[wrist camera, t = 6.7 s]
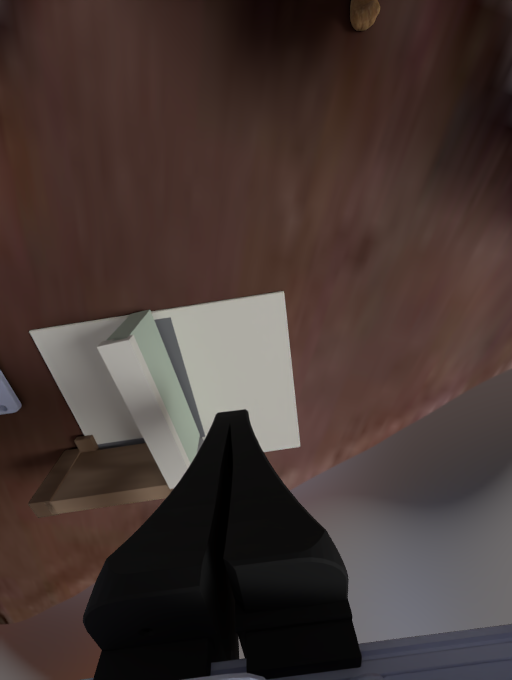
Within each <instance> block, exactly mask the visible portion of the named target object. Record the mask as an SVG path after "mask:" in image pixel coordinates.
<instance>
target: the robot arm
mask: <svg viewBox="0 0 512 680" xmlns="http://www.w3.org/2000/svg"><path fill="white" fill-rule="evenodd" d="M5 406H6V407H5ZM21 406H22V405H21V402H20V401H19V399H18V398H17V396H16V394H15V393H14V391H13V389H12V388H11V386H10V385H9V383H8V381H7V380H6V378H5V377H4V375H3V373H2V372H1V370H0V415H1V414H8V413H15V412H17V411H18V410H19V409H20V408H21ZM347 595H348V574H347V570H346V568H345V565H344V563H343V560H342V558H341V556H340V554H339V552H338V550H337V548H336V546H335V545H334V543H333V541H332V539H331V538H330V537H329V534H328V532H327V531H326V530H325V529H324V528H323V527H322V526H321V525H320V524H319V523H318V522H317V521H316V520H315V519H314V518H313V517H312V516H311V515H310V514H309V513H308V512H307V510H306V509H305V508H304V507H303V506H302V505H301V504H300V503H299V502H298V501H297V499H296V498H295V497H294V496H293V494H292V493H291V492H290V491H289V489H288V488H287V487H286V486H285V485H284V483H283V482H282V480H281V479H280V478H279V476H278V475H277V473H276V472H275V470H274V469H273V467H272V466H271V464H270V463H269V461H268V459H267V458H266V456H265V454H264V452H263V450H262V448H261V447H260V445H259V442H258V440H257V438H256V436H255V434H254V431H253V429H252V426H251V423H250V419H249V413H248V411H247V410H246V409H243V410H235V411H227V412H219V413H217V414H216V415H215V418H214V421H213V423H212V425H211V427H210V430H209V432H208V434H207V436H206V438H205V440H204V442H203V444H202V445H201V447H200V449H199V451H198V453H197V454H196V456H195V458H194V459H193V461H192V463H191V464H190V466H189V468H188V469H187V471H186V472H185V474H184V475H183V477H182V478H181V479H180V481H179V482H178V484H177V485H176V486H175V488H174V489H173V490H172V491H171V493H170V494H169V495H168V497H167V498H166V499H165V500H164V502H163V503H162V504H161V505H160V506H159V507H158V509H157V510H156V511H155V512H154V513H153V514H152V515H151V516H150V517H149V518H148V519H147V521H146V522H145V523H144V524H143V525H142V526H141V527H140V528H139V529H138V530H137V531H136V532H135V533H134V534H133V535H132V536H131V537H130V538H129V539H128V540H127V541H126V542H125V543H123V544H122V545H121V546H120V547H119V548H118V549H117V550H116V551H115V552H114V553H113V554H111V555H110V556H109V557H108V558H107V559H106V561H105V563H104V566H103V568H102V570H101V572H100V574H99V576H98V578H97V581H96V583H95V585H94V588H93V591H92V594H91V596H90V599H89V602H88V604H87V607H86V610H85V613H84V616H83V623H84V626H85V628H86V630H87V632H88V633H89V634H90V636H91V637H92V638H93V639H94V641H95V642H96V643H97V644H98V646H99V647H100V648H101V649H102V652H101V655H100V659H99V662H98V665H97V669H96V672H95V675H94V678H89V679H82V680H512V624H509V625H501V626H494V627H485V628H477V629H470V630H462V631H454V632H447V633H439V634H431V635H424V636H415V637H407V638H400V639H392V640H384V641H376V642H369V643H361V644H358V641H357V637H356V634H355V630H354V626H353V623H352V613H351V609H350V605H349V602H348V598H347V597H348V596H347ZM238 636H239V639H240V643H241V646H242V649H243V653H244V656H245V658H244V659H239V643H238Z"/></svg>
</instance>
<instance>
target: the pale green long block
mask: <svg viewBox="0 0 512 680" xmlns="http://www.w3.org/2000/svg"><path fill="white" fill-rule="evenodd" d="M97 349H98V351H99V353H100V355H101V356H102V358H103V360H104V362H105V364H106V366H107V368H108V370H109V372H110V374H111V376H112V378H113V380H114V382H115V384H116V386H117V388H118V389H119V391H120V393H121V395H122V397H123V399H124V401H125V403H126V405H127V407H128V409H129V411H130V413H131V415H132V417H133V419H134V421H135V422H136V424H137V426H138V428H139V430H140V432H141V434H142V436H143V438H144V440H145V442H146V444H147V446H148V448H149V450H150V452H151V454H152V455H153V457H154V459H155V461H156V463H157V465H158V467H159V469H160V471H161V473H162V475H163V477H164V479H165V481H166V483H167V485H168V487H169V488H170V489H173V488H175V486H176V485H177V484H178V482H179V481H180V479H181V478H182V477H183V475H184V474H185V472H186V471H187V469H188V468H189V466H190V464H191V463H192V461H193V459H194V458H195V456H196V454H197V453H198V451H199V449H200V447H201V445H202V444H203V442H204V440H203V439H202V437H200V434H199V431H198V429H197V426H196V424H195V421H194V419H193V416H192V414H191V411H190V409H189V406H188V404H187V401H186V399H185V396H184V393H183V391H182V388H181V386H180V383H179V381H178V378H177V376H176V373H175V371H174V368H173V366H172V363H171V361H170V358H169V356H168V353H167V351H166V348H165V346H164V343H163V341H162V338H161V336H160V333H159V331H158V328H157V326H156V323H155V321H154V318H153V316H152V313H151V311H150V310H146V311H141V312H137V313H132V314H130V315H129V316H128V317H127V319H126V320H125V321H124V322H123V323H122V324H121V325H120V326H119V327H118V328H117V329H116V330H115V331H114V332H113V333H112V335H111V336H110V337H109V338H108V339H107V340H106V341H102V342H101V343H100V344H99V345H98V346H97Z"/></svg>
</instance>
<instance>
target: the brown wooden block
mask: <svg viewBox="0 0 512 680" xmlns="http://www.w3.org/2000/svg"><path fill="white" fill-rule="evenodd" d="M74 442H75V443H76V445H77V447H78V448H77V449H71V450H65V451H64V452H63V454H62V455H61V457H60V458H59V459H58V461H57V462H56V464H55V465H54V467H53V468H52V470H51V471H50V473H49V474H48V475H47V477H46V478H45V480H44V481H43V483H42V484H41V486H40V487H39V488H38V490H37V491H36V493H35V494H34V496H33V497H32V499H31V500H30V501H29V503H28V505H29V506H30V508H31V509H32V510H33V512H34V513H35V514H36V516H37V517H38V518H40V517H47V516H54V515H59V514H60V513H67V512H74V511H81V510H88V509H95V508H102V507H108V506H115V505H122V504H129V503H136V502H143V501H150V500H157V499H163V498H167V497H168V495H169V494H170V493H171V491H172V490H173V489H174V488H173V489H170V488H169V487H168V485H167V483H166V481H165V479H164V477H163V475H162V473H161V471H160V469H159V467H158V465H157V463H156V461H155V459H154V457H153V455H152V454H151V452H150V450H149V448H148V446H147V444H146V442H145V443H143V444H136V445H129V446H122V447H116V448H109V449H102V450H100V449H99V447H98V445H97V443H96V441H95V439H94V437H93V435H87V436H80V437H76V439H75V440H74Z"/></svg>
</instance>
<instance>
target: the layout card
mask: <svg viewBox="0 0 512 680" xmlns="http://www.w3.org/2000/svg"><path fill="white" fill-rule="evenodd" d="M151 313H152V316H153V318H154V321H155V323H156V326H157V328H158V331H159V333H160V336H161V338H162V341H163V343H164V346H165V348H166V351H167V353H168V356H169V358H170V361H171V363H172V366H173V368H174V371H175V373H176V376H177V378H178V381H179V383H180V386H181V388H182V391H183V393H184V396H185V399H186V401H187V404H188V406H189V409H190V411H191V414H192V416H193V419H194V421H195V424H196V426H197V429H198V431H199V434H200V437H202V439H203V440H205V438H206V436H207V434H208V432H209V430H210V427H211V425H212V423H213V421H214V418H215V415H216V414H217V413H219V412H227V411H235V410H243V409H246V410H247V411H248V413H249V419H250V423H251V426H252V429H253V431H254V434H255V436H256V438H257V440H258V442H259V445H260V447H261V448H262V450H263V452H267V451H274V450H281V449H288V448H294V447H300V439H299V429H298V420H297V410H296V401H295V391H294V382H293V372H292V363H291V353H290V344H289V335H288V325H287V316H286V306H285V297H284V291H279V292H273V293H266V294H260V295H253V296H247V297H241V298H234V299H228V300H221V301H215V302H208V303H202V304H196V305H189V306H183V307H176V308H170V309H163V310H157V311H151ZM128 316H129V315H125V316H118V317H112V318H106V319H99V320H93V321H86V322H80V323H73V324H67V325H60V326H54V327H48V328H41V329H35V330H30V331H29V332H30V334H31V336H32V338H33V340H34V342H35V344H36V346H37V347H38V349H39V351H40V353H41V355H42V357H43V359H44V361H45V362H46V364H47V366H48V368H49V370H50V372H51V374H52V376H53V377H54V379H55V381H56V383H57V385H58V387H59V389H60V391H61V392H62V394H63V396H64V398H65V400H66V402H67V404H68V406H69V407H70V409H71V411H72V413H73V415H74V417H75V419H76V421H77V422H78V424H79V426H80V428H81V430H82V432H83V434H84V436H87V435H93V437H94V439H95V441H96V443H97V445H98V447H99V449H100V450H102V449H109V448H116V447H122V446H129V445H136V444H143V443H145V440H144V438H143V436H142V434H141V432H140V430H139V428H138V426H137V424H136V422H135V421H134V419H133V417H132V415H131V413H130V411H129V409H128V407H127V405H126V403H125V401H124V399H123V397H122V395H121V393H120V391H119V389H118V388H117V386H116V384H115V382H114V380H113V378H112V376H111V374H110V372H109V370H108V368H107V366H106V364H105V362H104V360H103V358H102V356H101V355H100V353H99V351H98V349H97V346H98V345H99V344H100V343H101V342H102V341H106V340H107V339H108V338H109V337H110V336H111V335H112V333H113V332H114V331H115V330H116V329H117V328H118V327H119V326H120V325H121V324H122V323H123V322H124V321H125V320H126V319H127V317H128Z"/></svg>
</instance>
